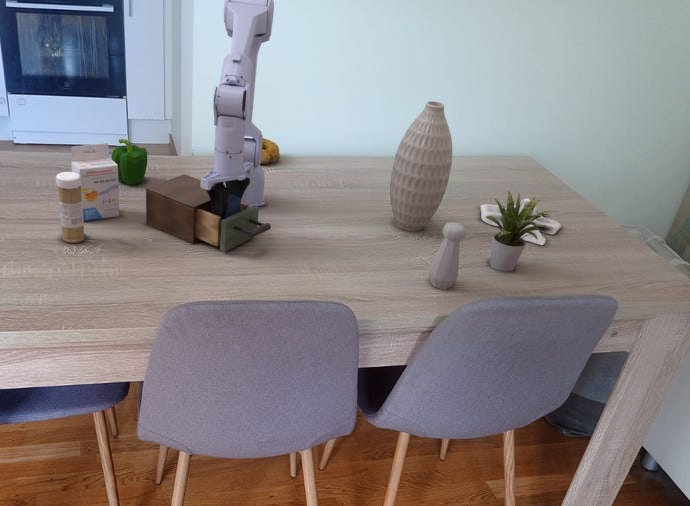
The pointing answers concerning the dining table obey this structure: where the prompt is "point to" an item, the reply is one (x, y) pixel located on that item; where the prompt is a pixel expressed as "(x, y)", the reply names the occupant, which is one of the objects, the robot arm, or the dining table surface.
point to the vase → (421, 169)
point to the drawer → (228, 226)
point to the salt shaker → (447, 257)
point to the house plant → (512, 233)
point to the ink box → (97, 181)
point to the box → (231, 206)
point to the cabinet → (176, 206)
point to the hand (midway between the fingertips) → (225, 213)
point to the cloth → (549, 229)
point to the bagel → (269, 151)
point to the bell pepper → (130, 162)
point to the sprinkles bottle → (70, 206)
